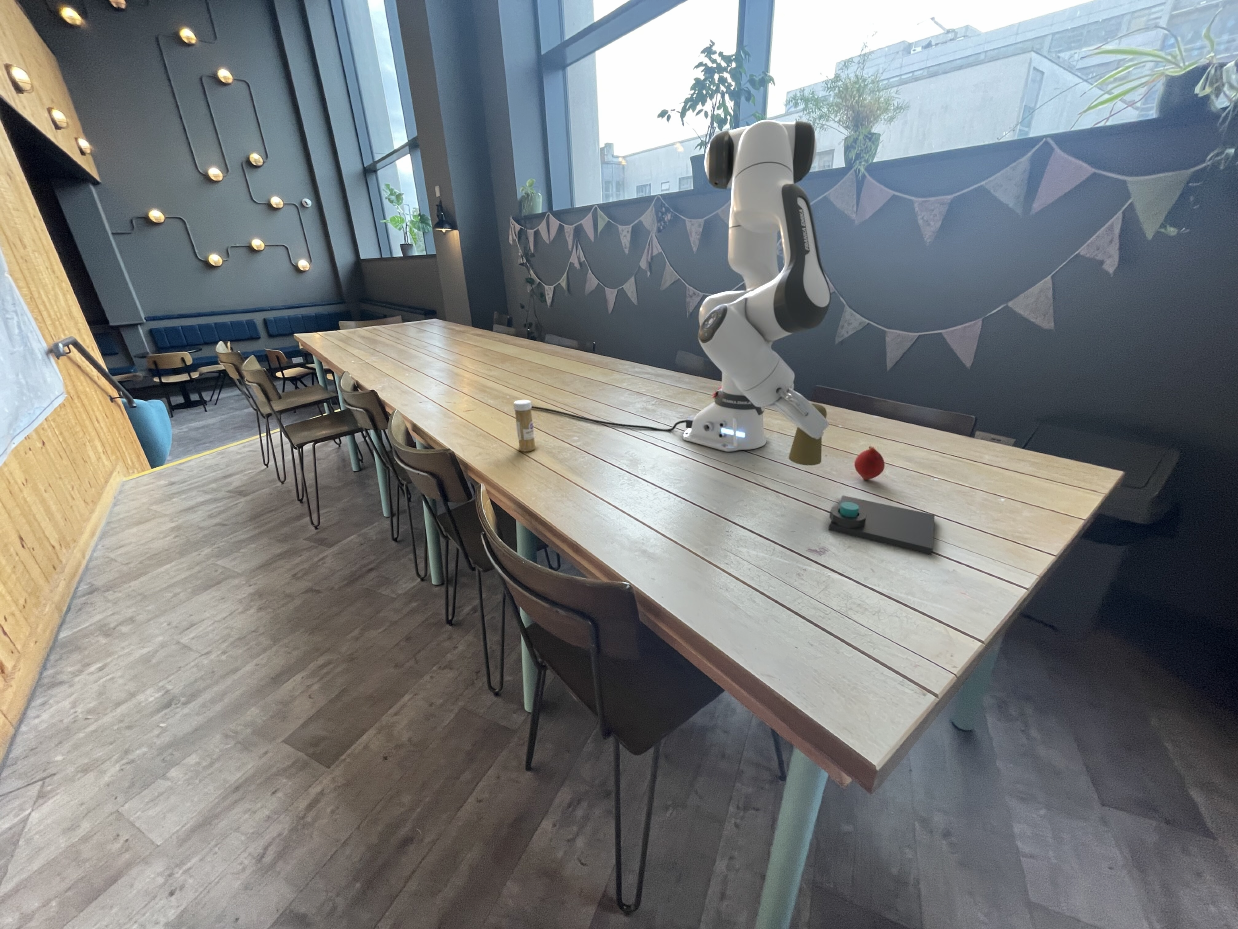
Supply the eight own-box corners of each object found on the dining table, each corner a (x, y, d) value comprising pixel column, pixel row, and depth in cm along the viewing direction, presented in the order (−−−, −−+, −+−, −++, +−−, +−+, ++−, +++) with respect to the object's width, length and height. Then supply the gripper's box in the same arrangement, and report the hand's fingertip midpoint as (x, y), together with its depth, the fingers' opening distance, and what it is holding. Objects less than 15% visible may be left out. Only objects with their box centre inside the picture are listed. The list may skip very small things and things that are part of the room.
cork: (824, 466, 88) (833, 410, 84) (790, 464, 90) (798, 409, 85) (818, 454, 94) (827, 400, 89) (786, 452, 95) (793, 399, 90)
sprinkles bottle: (533, 452, 126) (528, 403, 121) (517, 452, 126) (511, 404, 121) (537, 445, 130) (532, 398, 125) (521, 446, 131) (515, 399, 125)
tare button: (837, 515, 86) (839, 507, 85) (840, 508, 88) (842, 500, 87) (855, 519, 84) (857, 511, 84) (858, 512, 87) (860, 504, 86)
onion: (878, 475, 106) (885, 442, 103) (882, 486, 102) (890, 452, 98) (850, 472, 108) (856, 440, 105) (853, 483, 103) (859, 449, 100)
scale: (825, 529, 86) (828, 515, 85) (838, 500, 96) (841, 487, 95) (930, 555, 78) (935, 540, 77) (932, 521, 88) (936, 507, 87)
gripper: (808, 384, 74) (855, 438, 79) (760, 358, 93) (801, 403, 98) (777, 412, 76) (826, 464, 81) (736, 381, 94) (778, 424, 99)
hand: (812, 430), depth 89 cm, fingers closed on cork, 4 cm apart
